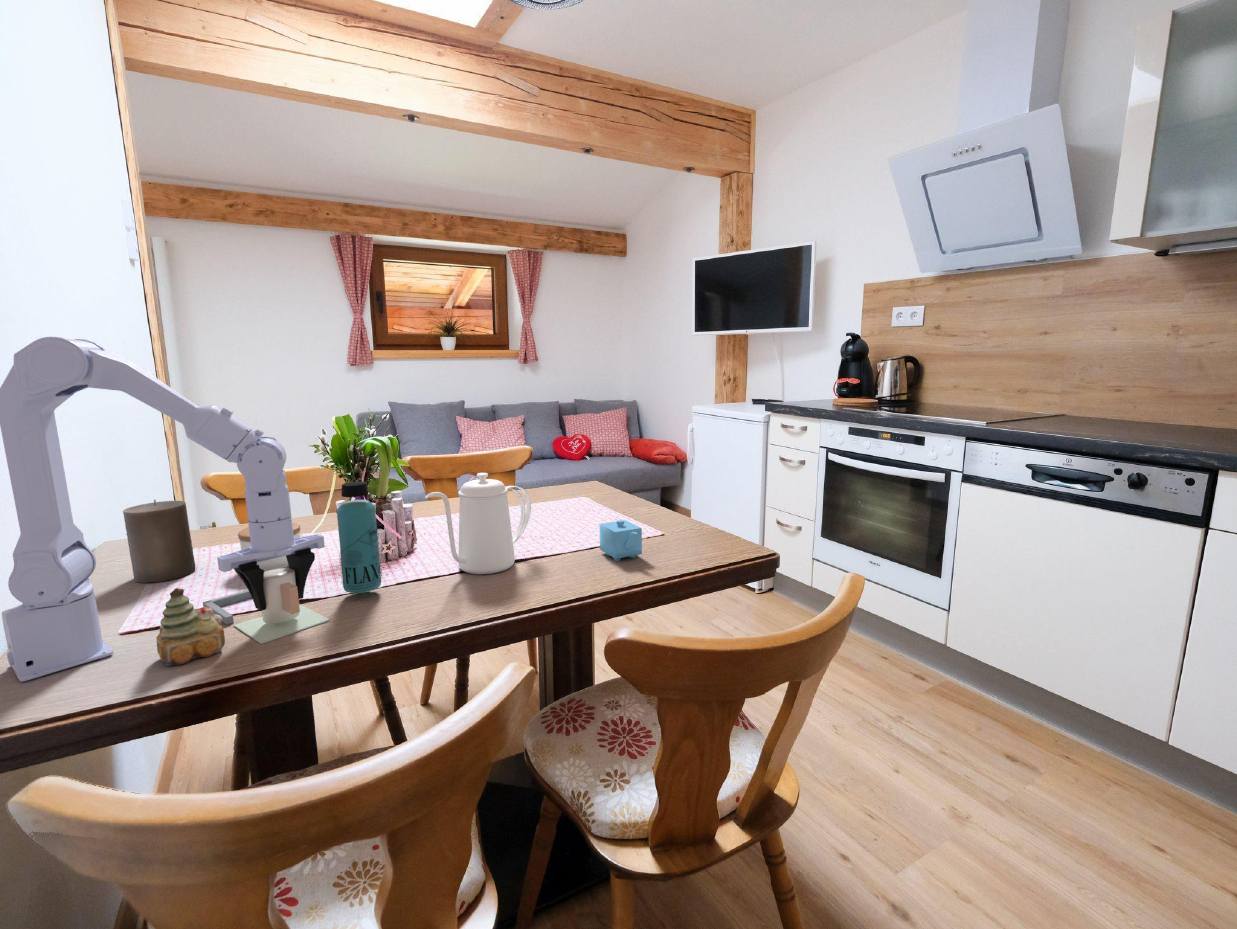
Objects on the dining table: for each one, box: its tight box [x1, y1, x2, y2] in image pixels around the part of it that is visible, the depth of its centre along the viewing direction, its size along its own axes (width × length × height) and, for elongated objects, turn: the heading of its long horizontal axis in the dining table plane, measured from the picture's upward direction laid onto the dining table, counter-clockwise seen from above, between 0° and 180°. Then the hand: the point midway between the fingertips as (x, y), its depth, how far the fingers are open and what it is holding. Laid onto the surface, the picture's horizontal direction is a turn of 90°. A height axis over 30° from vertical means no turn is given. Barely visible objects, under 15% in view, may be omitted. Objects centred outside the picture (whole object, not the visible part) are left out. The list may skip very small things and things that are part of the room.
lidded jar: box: [237, 521, 301, 572], centre depth 120 cm, size 11×11×9 cm
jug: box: [261, 567, 300, 623], centre depth 93 cm, size 8×5×7 cm, turn 51°
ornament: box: [156, 587, 226, 667], centre depth 84 cm, size 8×6×10 cm
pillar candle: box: [122, 499, 196, 584], centre depth 116 cm, size 10×10×15 cm
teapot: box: [599, 519, 643, 562], centre depth 123 cm, size 12×6×8 cm, turn 27°
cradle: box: [202, 589, 252, 626], centre depth 101 cm, size 11×10×1 cm
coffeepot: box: [424, 472, 532, 575], centre depth 117 cm, size 11×25×19 cm, turn 143°
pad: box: [233, 603, 330, 645], centre depth 94 cm, size 10×10×1 cm
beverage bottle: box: [335, 481, 383, 594], centre depth 104 cm, size 6×7×20 cm
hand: (279, 602), depth 94 cm, fingers closed on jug, 5 cm apart
